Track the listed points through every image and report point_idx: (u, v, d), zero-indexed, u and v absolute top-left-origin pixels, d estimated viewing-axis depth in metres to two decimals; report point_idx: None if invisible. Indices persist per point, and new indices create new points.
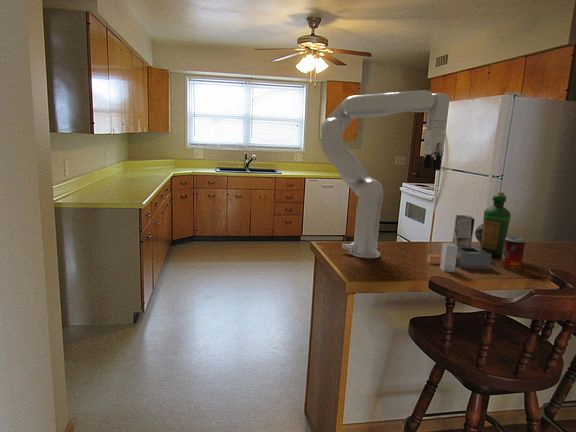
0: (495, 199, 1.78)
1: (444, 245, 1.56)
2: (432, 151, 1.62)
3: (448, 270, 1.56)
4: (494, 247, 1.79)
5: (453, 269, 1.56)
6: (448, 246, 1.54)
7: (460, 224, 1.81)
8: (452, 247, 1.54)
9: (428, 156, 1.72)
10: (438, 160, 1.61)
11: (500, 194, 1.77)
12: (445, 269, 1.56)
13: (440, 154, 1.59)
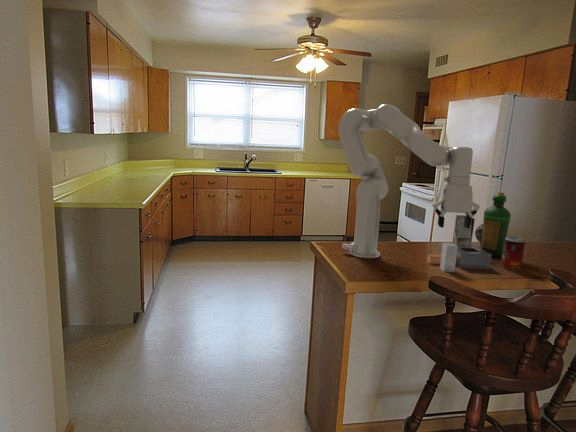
0: (495, 199, 1.78)
1: (444, 245, 1.56)
2: (471, 209, 1.51)
3: (448, 270, 1.56)
4: (494, 247, 1.79)
5: (453, 269, 1.56)
6: (448, 246, 1.54)
7: (460, 224, 1.81)
8: (452, 247, 1.54)
9: None
10: None
11: (500, 194, 1.77)
12: (445, 269, 1.56)
13: None
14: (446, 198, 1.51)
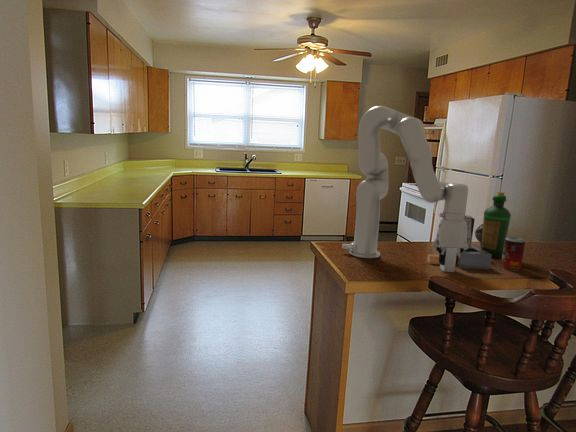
0: (495, 199, 1.78)
1: None
2: (465, 245, 1.54)
3: (448, 270, 1.56)
4: (494, 247, 1.79)
5: (453, 269, 1.56)
6: None
7: None
8: None
9: None
10: None
11: (500, 194, 1.77)
12: (445, 269, 1.56)
13: None
14: (441, 234, 1.53)
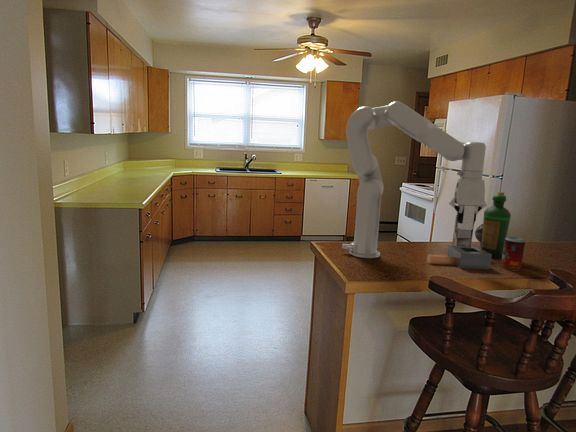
0: (495, 199, 1.78)
1: None
2: (483, 203, 1.56)
3: (466, 228, 1.58)
4: (494, 247, 1.79)
5: (471, 227, 1.58)
6: None
7: None
8: None
9: None
10: None
11: (500, 194, 1.77)
12: (463, 227, 1.58)
13: (481, 208, 1.59)
14: (459, 192, 1.56)
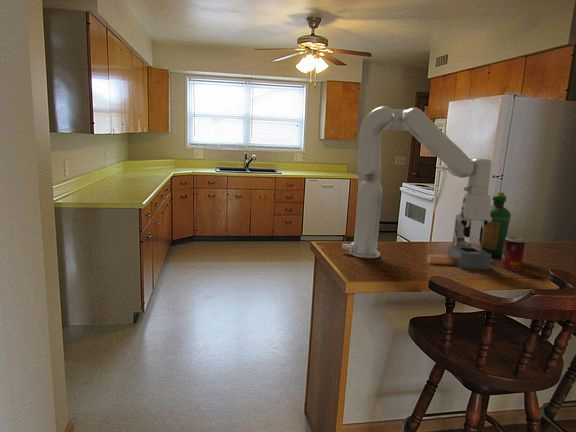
0: (495, 199, 1.78)
1: None
2: (489, 217, 1.62)
3: (473, 242, 1.63)
4: (494, 247, 1.79)
5: (478, 240, 1.63)
6: None
7: (460, 224, 1.81)
8: None
9: None
10: None
11: (500, 194, 1.77)
12: (470, 241, 1.63)
13: None
14: (466, 207, 1.61)
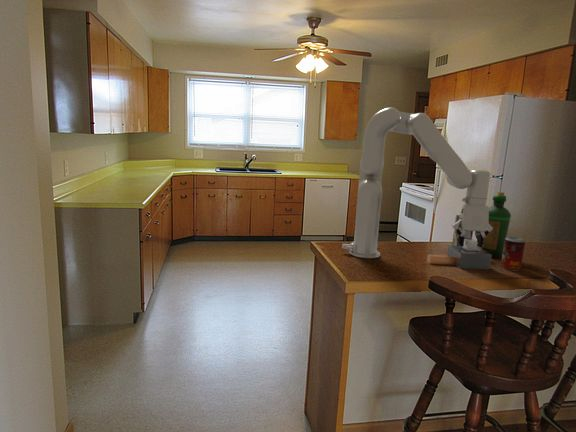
0: (495, 199, 1.78)
1: (464, 241, 1.66)
2: None
3: None
4: (494, 247, 1.79)
5: None
6: (468, 242, 1.64)
7: None
8: (472, 242, 1.64)
9: None
10: None
11: (500, 194, 1.77)
12: None
13: None
14: (464, 217, 1.61)
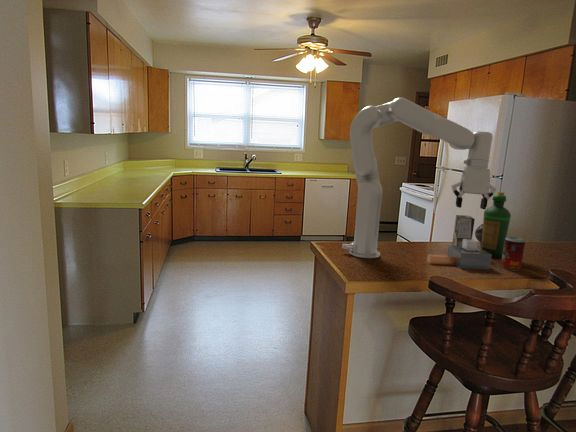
0: (495, 199, 1.78)
1: (464, 241, 1.66)
2: (488, 191, 1.60)
3: None
4: (494, 247, 1.79)
5: None
6: (468, 242, 1.64)
7: (460, 224, 1.81)
8: (472, 242, 1.64)
9: None
10: None
11: (500, 194, 1.77)
12: None
13: None
14: (465, 180, 1.59)
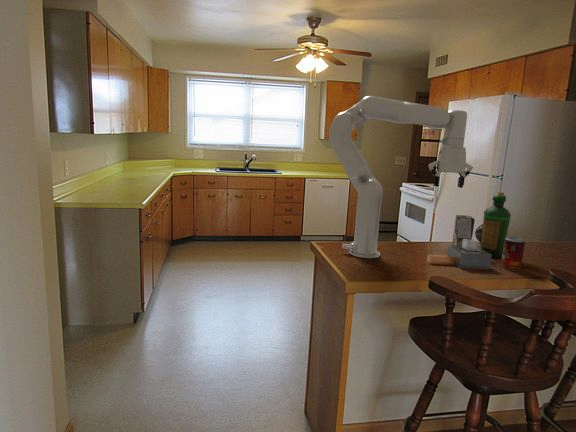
0: (495, 199, 1.78)
1: (464, 241, 1.66)
2: (464, 169, 1.62)
3: None
4: (494, 247, 1.79)
5: None
6: (468, 242, 1.64)
7: (460, 224, 1.81)
8: (472, 243, 1.64)
9: None
10: None
11: (500, 194, 1.77)
12: None
13: None
14: (441, 158, 1.61)
